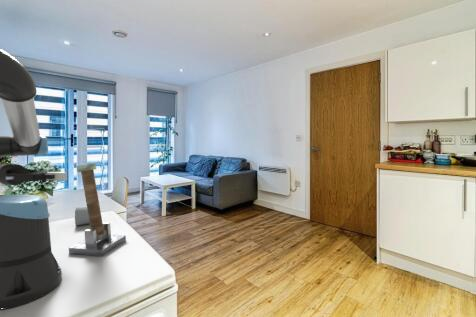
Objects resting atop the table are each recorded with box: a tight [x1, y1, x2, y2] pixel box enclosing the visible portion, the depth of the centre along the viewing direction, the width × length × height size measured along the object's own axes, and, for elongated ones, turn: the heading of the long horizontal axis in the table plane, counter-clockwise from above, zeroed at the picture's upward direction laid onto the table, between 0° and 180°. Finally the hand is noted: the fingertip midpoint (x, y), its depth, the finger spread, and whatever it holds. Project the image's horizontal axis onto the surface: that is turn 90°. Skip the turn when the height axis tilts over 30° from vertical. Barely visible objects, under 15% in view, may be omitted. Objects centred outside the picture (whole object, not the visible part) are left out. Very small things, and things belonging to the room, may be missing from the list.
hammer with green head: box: [76, 163, 107, 241], centre depth 83 cm, size 5×4×26 cm
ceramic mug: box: [74, 206, 90, 226], centre depth 109 cm, size 11×8×8 cm
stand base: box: [68, 221, 127, 257], centre depth 84 cm, size 12×12×7 cm
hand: (64, 176), depth 84 cm, fingers closed
